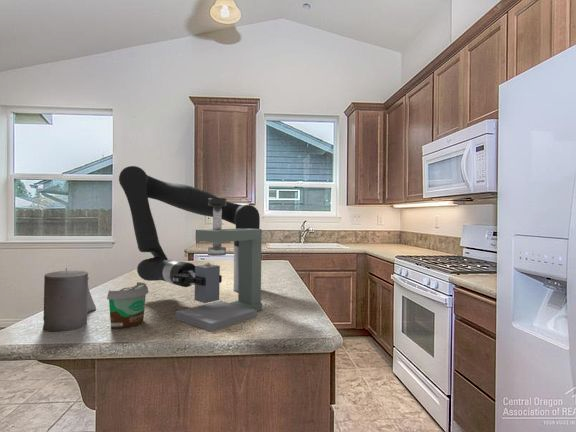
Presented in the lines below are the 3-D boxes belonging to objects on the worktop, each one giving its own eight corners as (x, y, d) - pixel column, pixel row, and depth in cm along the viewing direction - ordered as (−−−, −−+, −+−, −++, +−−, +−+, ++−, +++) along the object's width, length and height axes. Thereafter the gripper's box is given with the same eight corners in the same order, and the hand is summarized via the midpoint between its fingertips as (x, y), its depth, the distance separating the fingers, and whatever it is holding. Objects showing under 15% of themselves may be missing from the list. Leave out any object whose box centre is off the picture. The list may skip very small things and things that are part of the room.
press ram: (218, 253, 99) (218, 199, 99) (229, 254, 96) (230, 198, 96) (204, 254, 96) (204, 198, 96) (215, 256, 92) (215, 197, 92)
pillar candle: (33, 330, 84) (34, 270, 84) (64, 318, 94) (65, 264, 94) (67, 333, 83) (68, 272, 83) (96, 321, 92) (97, 266, 92)
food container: (128, 333, 83) (128, 292, 83) (106, 331, 84) (107, 291, 84) (157, 318, 95) (157, 282, 95) (138, 316, 96) (138, 281, 96)
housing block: (208, 297, 102) (209, 261, 102) (219, 299, 99) (219, 263, 99) (194, 300, 98) (195, 263, 98) (205, 303, 95) (205, 264, 95)
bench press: (237, 302, 113) (237, 228, 113) (272, 311, 102) (273, 229, 102) (175, 318, 95) (176, 229, 95) (210, 331, 85) (211, 232, 85)
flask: (65, 310, 102) (65, 277, 102) (91, 305, 107) (92, 274, 107) (72, 315, 97) (72, 280, 97) (100, 310, 102) (100, 277, 102)
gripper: (159, 263, 102) (191, 270, 91) (199, 259, 113) (232, 264, 102) (158, 288, 102) (191, 298, 91) (198, 281, 113) (232, 289, 102)
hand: (212, 280), depth 97 cm, fingers closed on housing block, 5 cm apart
